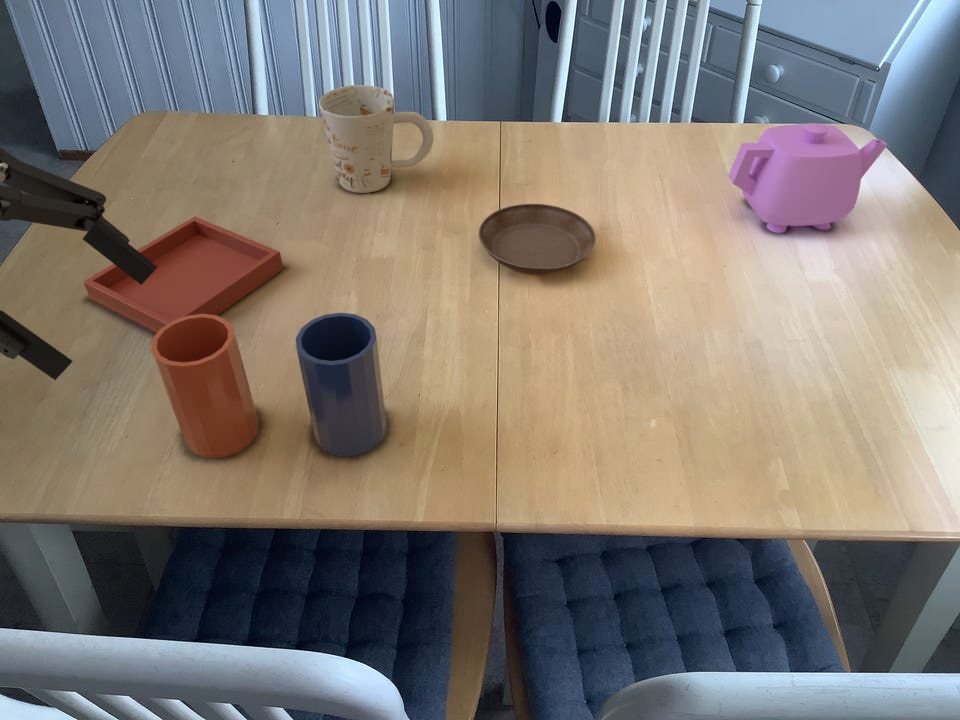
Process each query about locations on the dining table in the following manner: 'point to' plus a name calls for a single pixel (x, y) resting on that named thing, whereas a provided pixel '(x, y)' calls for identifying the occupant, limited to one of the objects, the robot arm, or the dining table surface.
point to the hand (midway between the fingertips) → (110, 320)
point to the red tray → (187, 275)
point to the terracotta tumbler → (206, 384)
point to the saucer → (537, 238)
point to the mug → (366, 135)
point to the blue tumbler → (342, 383)
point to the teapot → (802, 174)
